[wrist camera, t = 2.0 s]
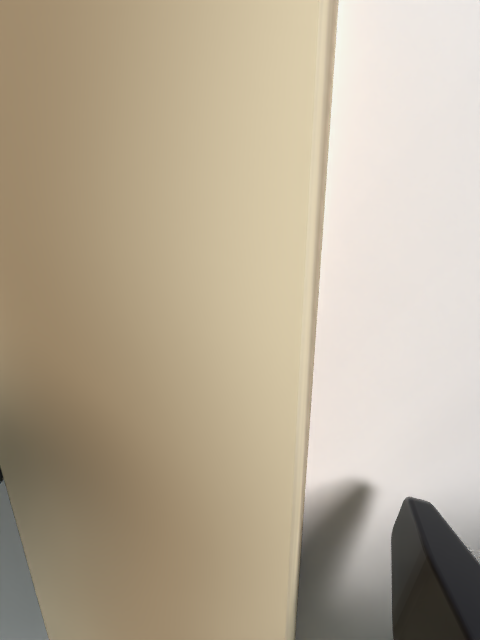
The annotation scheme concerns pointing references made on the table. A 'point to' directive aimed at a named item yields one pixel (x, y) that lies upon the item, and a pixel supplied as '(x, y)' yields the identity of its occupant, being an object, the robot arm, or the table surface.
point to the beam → (161, 306)
